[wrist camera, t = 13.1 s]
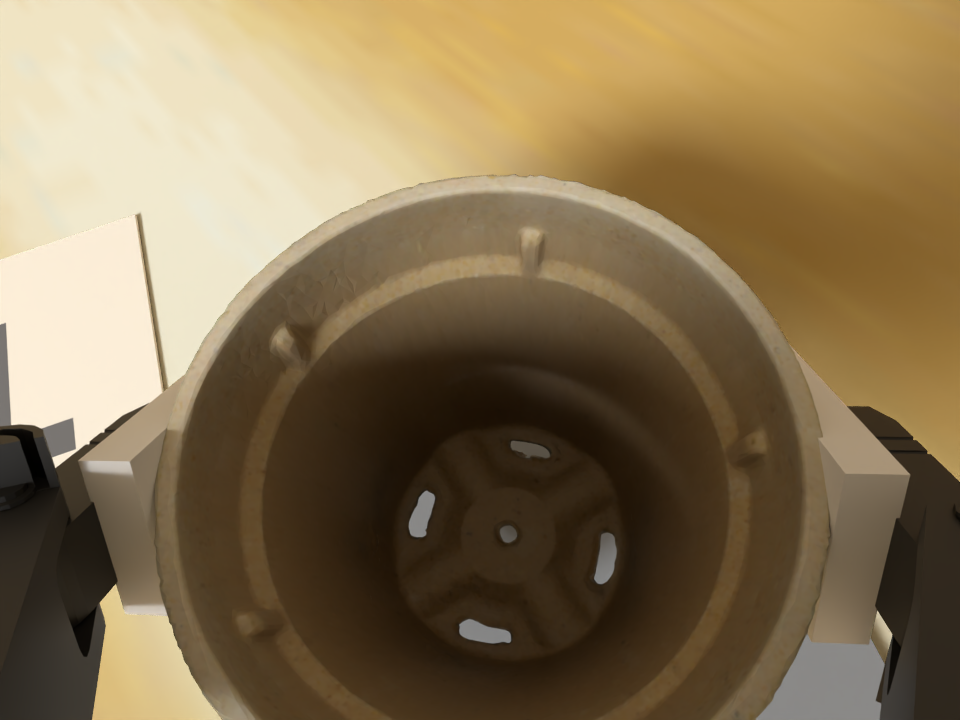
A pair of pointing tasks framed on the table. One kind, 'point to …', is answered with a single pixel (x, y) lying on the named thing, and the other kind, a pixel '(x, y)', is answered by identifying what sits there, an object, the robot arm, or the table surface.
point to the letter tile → (77, 335)
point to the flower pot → (492, 470)
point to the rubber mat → (805, 688)
